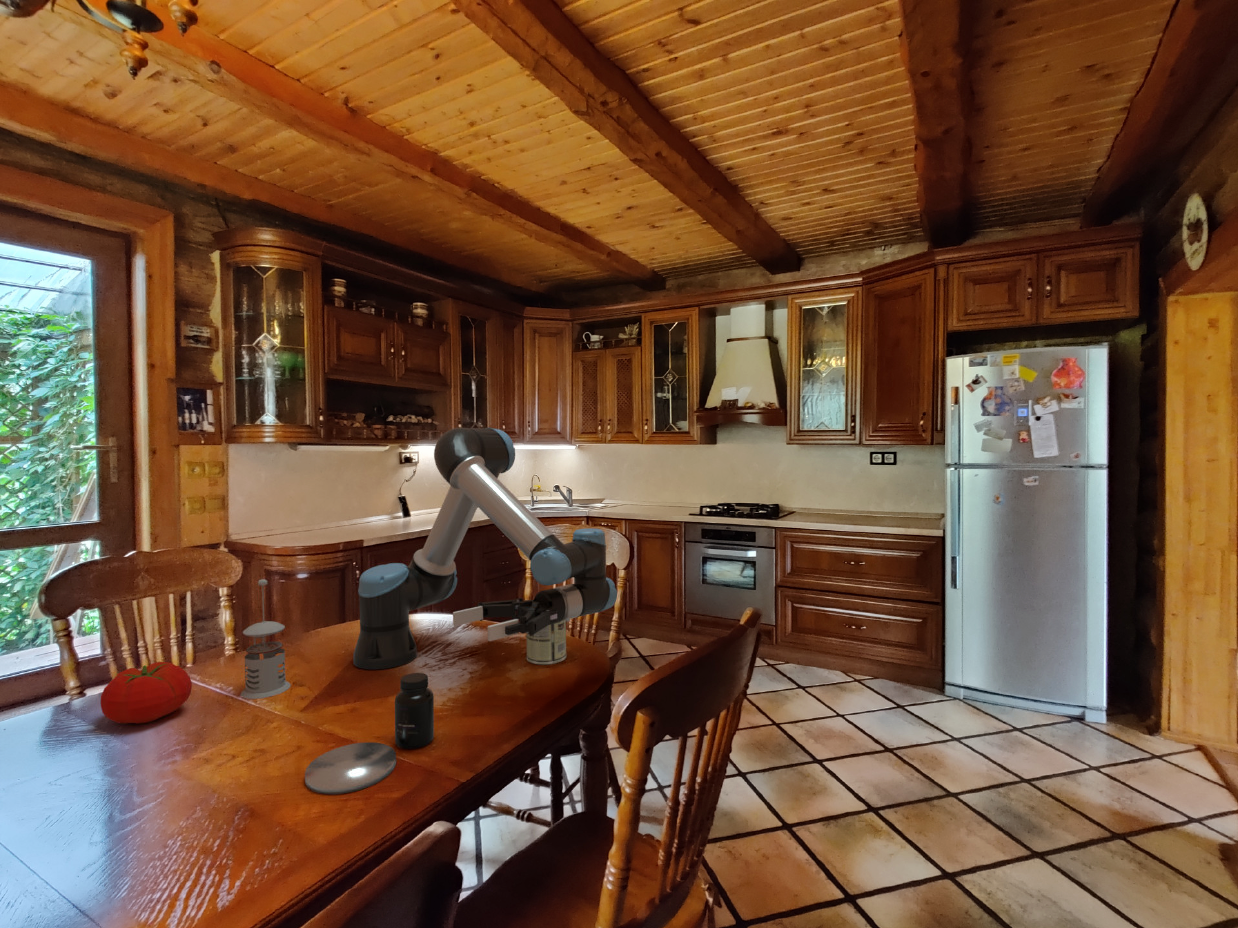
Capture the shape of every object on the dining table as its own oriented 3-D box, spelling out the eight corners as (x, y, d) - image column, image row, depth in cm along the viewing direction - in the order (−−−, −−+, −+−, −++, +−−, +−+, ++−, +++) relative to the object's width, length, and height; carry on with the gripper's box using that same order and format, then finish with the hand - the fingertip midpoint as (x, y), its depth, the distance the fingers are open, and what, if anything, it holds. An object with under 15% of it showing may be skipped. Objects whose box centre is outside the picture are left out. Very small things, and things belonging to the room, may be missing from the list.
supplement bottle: (397, 754, 107) (396, 687, 106) (393, 737, 113) (391, 674, 112) (437, 744, 110) (436, 680, 109) (430, 729, 116) (429, 667, 115)
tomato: (173, 694, 133) (171, 650, 133) (204, 713, 124) (202, 666, 123) (89, 719, 121) (86, 671, 121) (116, 742, 112) (113, 690, 111)
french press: (244, 702, 128) (240, 586, 127) (235, 686, 137) (231, 577, 136) (295, 689, 135) (292, 579, 134) (283, 675, 144) (280, 571, 143)
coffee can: (531, 649, 159) (530, 597, 159) (569, 650, 158) (569, 597, 158) (521, 664, 149) (520, 608, 149) (562, 665, 148) (561, 608, 147)
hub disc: (294, 769, 102) (294, 762, 102) (377, 740, 111) (377, 734, 111) (320, 805, 92) (320, 797, 92) (409, 770, 101) (409, 763, 101)
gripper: (594, 634, 124) (505, 660, 109) (525, 610, 142) (441, 631, 128) (593, 598, 124) (504, 620, 109) (524, 579, 142) (440, 596, 127)
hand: (470, 626), depth 118 cm, fingers open, 13 cm apart
